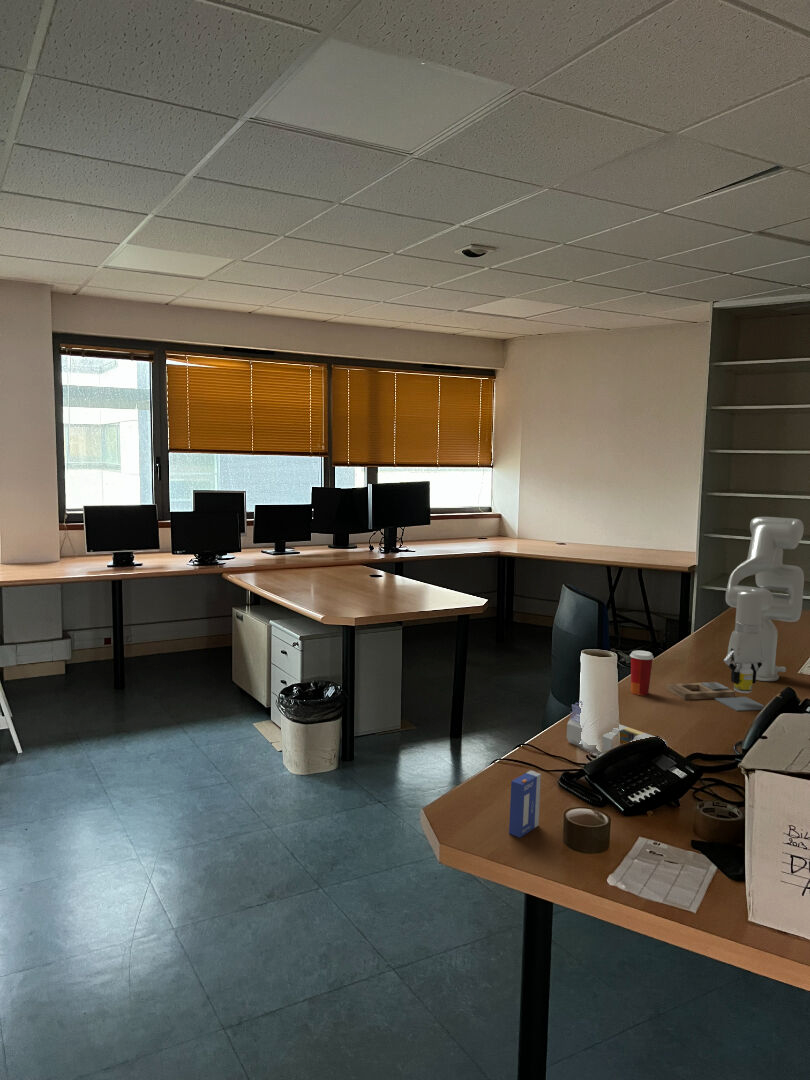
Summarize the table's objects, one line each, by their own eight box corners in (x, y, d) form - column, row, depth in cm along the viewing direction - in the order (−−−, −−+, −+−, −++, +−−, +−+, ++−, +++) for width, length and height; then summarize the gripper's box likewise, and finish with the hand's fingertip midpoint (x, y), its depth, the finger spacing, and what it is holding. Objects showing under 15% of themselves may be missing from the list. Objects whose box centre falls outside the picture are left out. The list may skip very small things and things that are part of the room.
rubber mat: (745, 697, 264) (745, 696, 264) (769, 709, 252) (769, 708, 252) (714, 699, 261) (714, 698, 261) (736, 711, 249) (737, 709, 249)
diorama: (565, 743, 218) (568, 698, 216) (589, 736, 224) (591, 692, 223) (642, 774, 199) (646, 724, 197) (666, 764, 205) (669, 716, 204)
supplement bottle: (730, 688, 258) (732, 659, 257) (746, 688, 259) (748, 659, 258) (738, 693, 253) (741, 664, 252) (754, 693, 253) (757, 664, 252)
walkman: (520, 838, 163) (522, 783, 162) (508, 833, 165) (511, 779, 163) (539, 825, 169) (542, 772, 168) (528, 821, 171) (530, 768, 169)
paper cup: (651, 691, 268) (654, 651, 267) (650, 697, 261) (653, 656, 259) (628, 688, 271) (630, 649, 269) (626, 694, 263) (629, 654, 262)
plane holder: (715, 687, 274) (715, 680, 274) (734, 697, 264) (735, 689, 264) (666, 689, 270) (667, 682, 270) (684, 699, 260) (685, 692, 259)
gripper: (762, 625, 259) (758, 678, 261) (717, 626, 255) (713, 680, 257) (778, 630, 252) (773, 685, 254) (731, 631, 248) (727, 686, 250)
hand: (743, 682), depth 256 cm, fingers closed on supplement bottle, 5 cm apart
